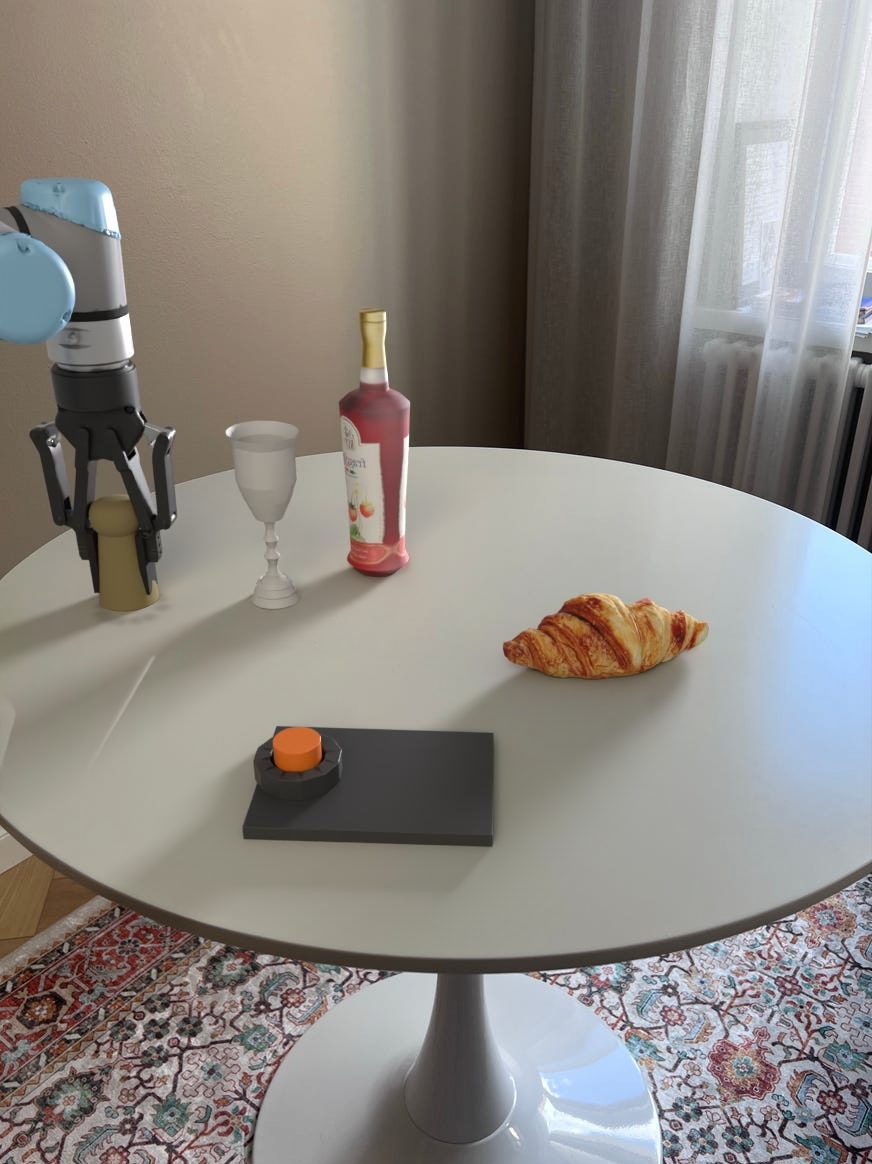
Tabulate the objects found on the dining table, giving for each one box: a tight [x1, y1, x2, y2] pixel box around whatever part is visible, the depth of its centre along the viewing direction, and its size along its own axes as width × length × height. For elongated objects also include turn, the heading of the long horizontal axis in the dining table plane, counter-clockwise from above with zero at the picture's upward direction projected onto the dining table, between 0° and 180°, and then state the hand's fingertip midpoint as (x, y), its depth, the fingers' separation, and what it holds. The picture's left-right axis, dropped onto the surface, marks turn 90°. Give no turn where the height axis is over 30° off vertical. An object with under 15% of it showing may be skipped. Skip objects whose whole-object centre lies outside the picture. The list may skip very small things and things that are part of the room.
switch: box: [273, 726, 322, 772], centre depth 78 cm, size 4×4×2 cm
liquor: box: [338, 307, 411, 578], centre depth 108 cm, size 7×7×28 cm
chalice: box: [225, 420, 301, 610], centre depth 103 cm, size 7×7×18 cm
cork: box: [89, 493, 161, 612], centre depth 104 cm, size 6×6×11 cm
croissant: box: [502, 592, 710, 680], centre depth 97 cm, size 21×10×8 cm, turn 109°
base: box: [241, 725, 494, 848], centre depth 79 cm, size 18×13×3 cm
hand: (126, 587), depth 106 cm, fingers open, 4 cm apart
